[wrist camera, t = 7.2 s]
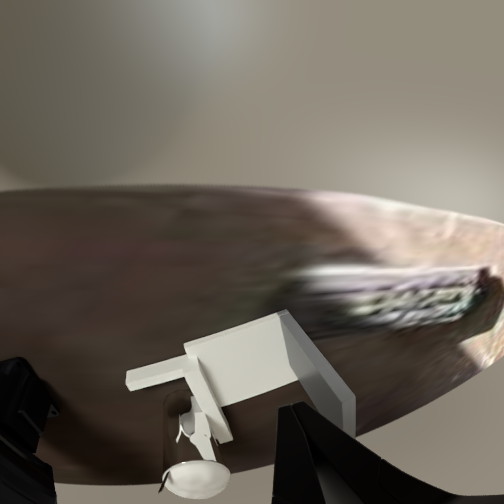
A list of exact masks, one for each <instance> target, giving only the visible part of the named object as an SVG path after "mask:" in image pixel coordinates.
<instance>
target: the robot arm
mask: <svg viewBox="0 0 504 504" xmlns="http://www.w3.org/2000/svg"><path fill="white" fill-rule="evenodd" d="M20 363H21V364H20ZM59 413H60V410H59V409H58V407H57V406H56V405H55V403H54V402H53V401H52V399H51V398H50V397H49V395H48V394H47V393H46V391H45V390H44V388H43V387H42V386H41V384H40V383H39V381H38V380H37V378H36V377H35V375H34V374H33V373H32V371H31V369H30V368H29V366H28V365H27V363H26V362H25V360H24V359H23V358H21V357H16V358H12V359H8V360H4V361H0V504H57V495H56V492H55V486H54V479H53V471H52V467H51V466H50V465H49V464H47V463H44V462H43V461H42V460H40V459H39V458H38V457H36V456H35V455H34V454H32V453H36V449H37V445H38V441H39V438H40V435H42V434H43V431H44V427H45V424H46V420H47V418H51V417H57V416H59ZM272 496H273V497H272V503H271V504H504V495H485V496H484V495H483V496H463V495H456V494H452V493H449V492H446V491H444V490H442V489H439V488H437V487H434V486H432V485H430V484H428V483H425V482H423V481H421V480H419V479H417V478H415V477H413V476H410V475H409V474H407V473H405V472H403V471H401V470H400V469H398V468H397V467H395V466H393V465H392V464H390V463H389V462H387V461H386V460H384V459H381V457H380V456H378V455H377V454H375V453H374V452H372V451H371V450H370V449H368V448H367V447H365V446H364V445H362V444H361V443H360V442H358V441H357V440H356V439H354V438H353V437H351V436H350V435H349V434H347V433H346V432H345V431H343V430H342V429H340V428H339V427H338V426H336V425H335V424H334V423H332V422H331V421H330V420H328V419H327V418H326V417H324V416H323V415H322V414H321V413H319V412H318V411H317V410H315V409H314V408H313V407H311V406H310V405H309V404H308V403H306V402H305V401H298V402H295V403H292V404H291V405H290V404H287V405H283V406H280V407H278V410H277V429H276V447H275V463H274V479H273V492H272Z"/></svg>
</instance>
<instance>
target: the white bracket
mask: <svg viewBox="0 0 504 504" xmlns="http://www.w3.org/2000/svg"><path fill="white" fill-rule="evenodd" d="M184 348H185V351H186V353H187V354H186V355H182V356H179V357H176V358H172V359H169V360H166V361H162V362H159V363H155V364H151V365H148V366H144V367H141V368H137V369H133V370H129V371H127V375H126V385H127V386H128V388H129V390H130V391H133V390H137V389H141V388H145V387H149V386H152V385H156V384H160V383H163V382H167V381H171V380H174V379H178V378H181V377H185V379H186V381H187V383H188V385H189V387H190V389H191V391H192V393H193V395H194V397H195V399H196V400H197V402H198V404H199V406H200V408H201V410H202V412H204V413H205V415H206V417H207V419H208V421H209V424H210V427H211V429H212V432H213V435H214V438H215V439H218V441H219V442H220V444H222V443H225V442H228V441H232V440H233V437H232V434H231V431H230V428H229V424H228V422H227V420H226V418H225V415H224V413H223V411H222V409H221V407H223V406H226V405H229V404H232V403H235V402H238V401H241V400H244V399H247V398H250V397H253V396H256V395H259V394H262V393H264V392H267V391H270V390H273V389H275V388H278V387H281V386H283V385H286V384H288V383H291V382H293V381H296V380H299V381H300V383H301V384H302V386H303V387H304V389H305V391H306V392H307V394H308V395H309V397H310V399H311V400H312V402H313V403H314V405H315V406H316V408H317V410H318V411H319V413H321V414H322V415H323V416H324V417H326V418H327V419H328V420H330V421H331V422H332V423H334V424H335V425H336V426H338V427H339V428H340V429H342V430H343V431H345V432H346V433H347V434H349V435H350V436H351V437H353V438H354V439H355V430H356V396H355V395H354V394H353V393H352V391H351V390H350V389H349V388H348V386H347V385H346V384H345V383H344V381H343V380H342V379H341V378H340V376H339V375H338V374H337V373H336V371H335V370H334V369H333V367H332V366H331V365H330V364H329V362H328V361H327V360H326V359H325V357H324V356H323V355H322V354H321V352H320V351H319V350H318V349H317V347H316V346H315V345H314V344H313V342H312V341H311V340H310V339H309V337H308V336H307V335H306V334H305V332H304V331H303V330H302V328H301V327H300V326H299V325H298V323H297V322H296V321H295V320H294V318H293V317H292V316H291V315H290V313H289V312H288V311H287V309H285V310H283V311H280V312H277V313H274V314H271V315H269V316H266V317H263V318H260V319H257V320H254V321H251V322H248V323H246V324H243V325H240V326H237V327H234V328H231V329H228V330H225V331H222V332H219V333H216V334H212V335H209V336H206V337H203V338H200V339H197V340H194V341H190V342H187V343H184Z"/></svg>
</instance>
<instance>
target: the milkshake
mask: <svg viewBox="0 0 504 504" xmlns="http://www.w3.org/2000/svg"><path fill="white" fill-rule="evenodd" d="M229 480H230V472H229V470H228V468H227V465H226V463H225V461H224V458H223V456H222V454H221V451H220V449H219V447H218V445H217V443H216V440H215V438H214V435H213V432H212V429H211V427H210V424H209V421H208V419H207V417H206V415H205V413H204V412H202V410H201V408H200V406H199V404H198V402H197V400H196V399H195V397H194V395H193V393H192V392H191V391H189V390H183V391H175V392H173V393H171V394H170V395H168V396H167V397H166V400H165V402H164V407H163V483H162V485H161V488H160V490H159V492H158V493H161V492H162V490H163V488H164V486H166V488H167V489H168V490H170V491H171V492H172V493H174V494H176V495H178V496H181V497H184V498H191V499H206V498H211V497H213V496H215V495H216V494H218V493H219V492H221V491H223V490H224V489H225V487H226V486H227V484H228V483H229Z"/></svg>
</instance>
